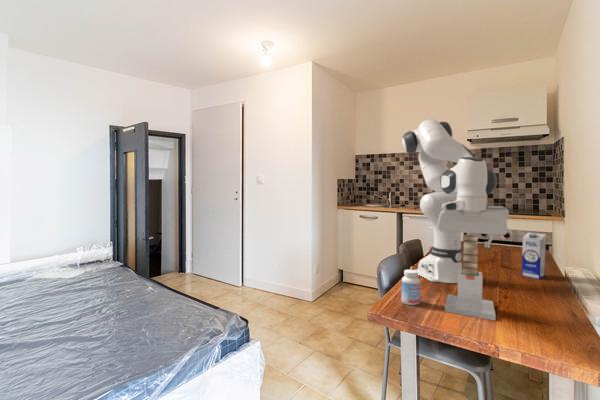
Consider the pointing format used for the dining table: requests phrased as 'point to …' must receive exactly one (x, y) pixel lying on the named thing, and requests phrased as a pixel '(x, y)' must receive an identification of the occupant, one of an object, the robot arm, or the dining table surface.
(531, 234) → the milk carton
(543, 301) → the dining table surface
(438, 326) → the dining table surface
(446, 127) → the robot arm
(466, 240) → the post
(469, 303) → the sleeve
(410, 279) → the pill bottle
